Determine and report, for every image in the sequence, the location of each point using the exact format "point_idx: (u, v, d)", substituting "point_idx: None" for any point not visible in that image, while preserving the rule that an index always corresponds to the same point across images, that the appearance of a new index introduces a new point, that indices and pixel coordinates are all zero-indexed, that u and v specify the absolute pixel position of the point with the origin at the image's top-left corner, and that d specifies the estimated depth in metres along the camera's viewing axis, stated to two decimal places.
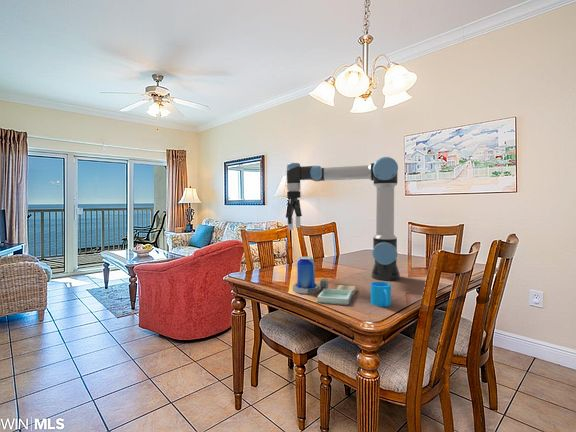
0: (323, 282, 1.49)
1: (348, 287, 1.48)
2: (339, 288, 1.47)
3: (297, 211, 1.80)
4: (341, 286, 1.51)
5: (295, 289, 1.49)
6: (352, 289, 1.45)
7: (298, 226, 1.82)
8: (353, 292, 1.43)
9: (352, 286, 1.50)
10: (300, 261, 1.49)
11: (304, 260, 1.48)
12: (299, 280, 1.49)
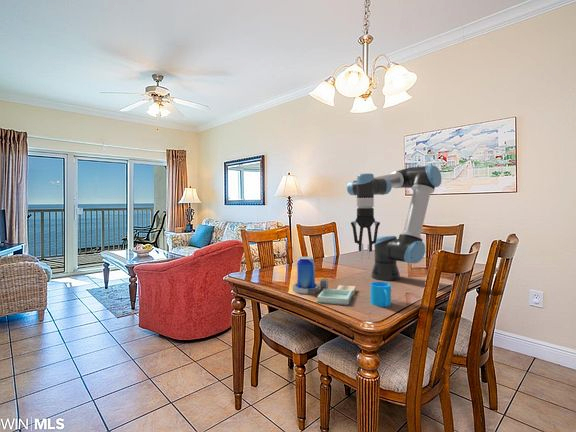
0: (323, 282, 1.49)
1: (348, 287, 1.48)
2: (339, 288, 1.47)
3: (368, 235, 1.43)
4: (341, 286, 1.51)
5: (295, 289, 1.49)
6: (352, 289, 1.45)
7: None
8: (353, 292, 1.43)
9: (352, 286, 1.50)
10: (300, 261, 1.49)
11: (304, 260, 1.48)
12: (299, 280, 1.49)
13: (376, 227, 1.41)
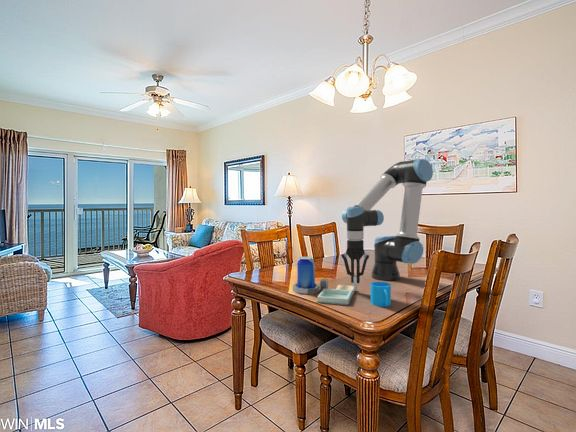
0: (323, 282, 1.49)
1: (347, 287, 1.48)
2: (338, 288, 1.47)
3: None
4: (340, 285, 1.51)
5: (295, 289, 1.49)
6: (351, 289, 1.45)
7: None
8: (352, 292, 1.43)
9: (351, 286, 1.50)
10: (300, 261, 1.49)
11: (304, 260, 1.48)
12: (299, 280, 1.49)
13: (365, 260, 1.43)
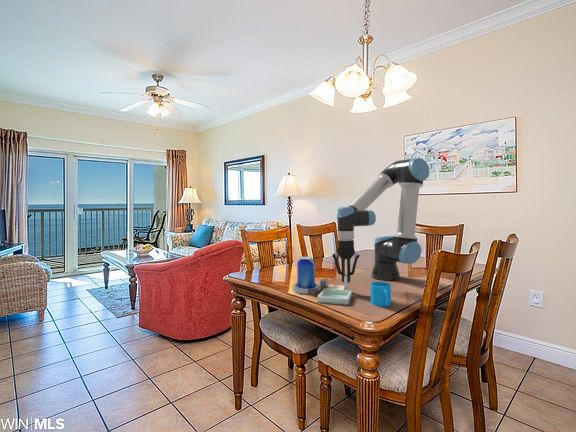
0: (323, 282, 1.49)
1: (338, 287, 1.50)
2: (329, 288, 1.48)
3: (347, 266, 1.47)
4: (331, 285, 1.52)
5: (295, 289, 1.49)
6: (342, 288, 1.46)
7: None
8: None
9: (342, 285, 1.51)
10: (300, 261, 1.49)
11: (304, 260, 1.48)
12: (299, 280, 1.49)
13: (355, 259, 1.45)
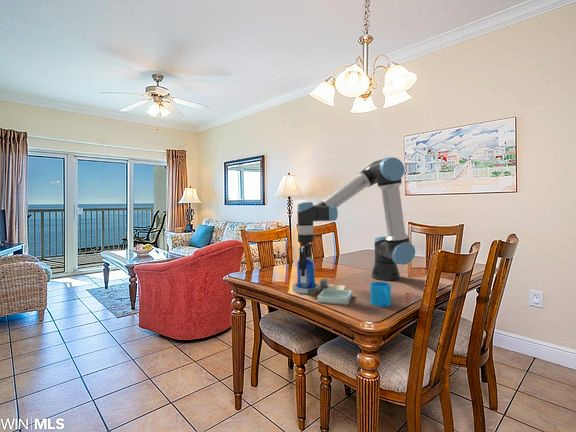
0: (323, 282, 1.49)
1: (338, 286, 1.50)
2: (329, 287, 1.48)
3: None
4: (331, 285, 1.52)
5: (295, 289, 1.49)
6: (342, 288, 1.46)
7: None
8: None
9: (342, 285, 1.51)
10: None
11: None
12: (299, 280, 1.49)
13: (311, 249, 1.56)
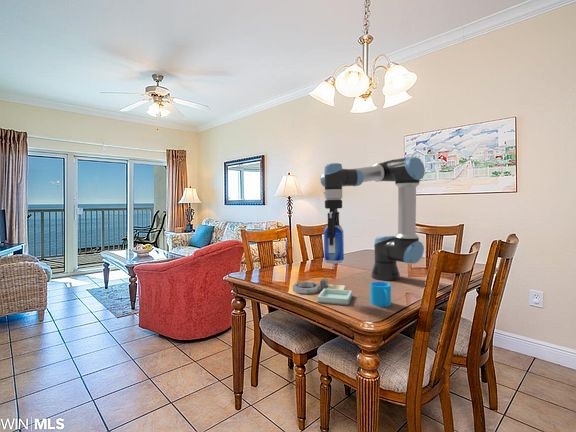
0: (323, 282, 1.49)
1: (338, 286, 1.50)
2: (329, 288, 1.48)
3: None
4: (330, 285, 1.52)
5: (295, 289, 1.49)
6: (342, 288, 1.46)
7: None
8: None
9: (342, 285, 1.52)
10: None
11: None
12: (326, 250, 1.34)
13: None
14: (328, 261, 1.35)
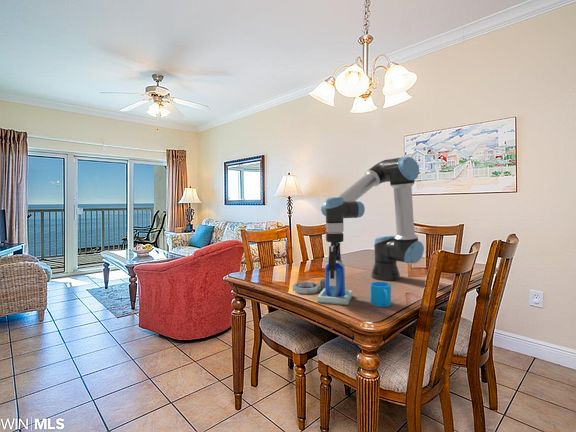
0: (323, 282, 1.49)
1: None
2: None
3: (337, 258, 1.41)
4: None
5: (295, 289, 1.49)
6: None
7: None
8: None
9: None
10: None
11: None
12: (328, 286, 1.35)
13: None
14: None
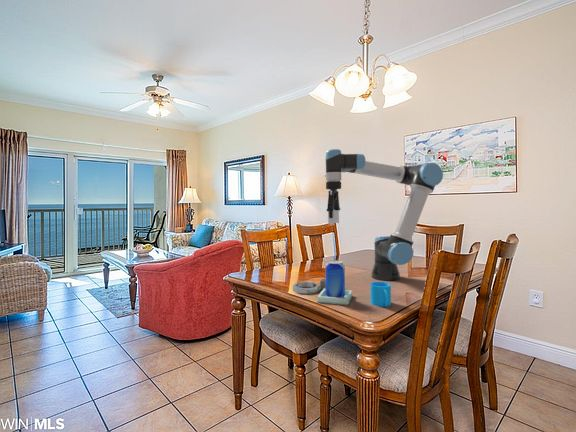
0: (323, 282, 1.49)
1: None
2: None
3: (336, 204, 1.60)
4: None
5: (295, 289, 1.49)
6: None
7: (336, 221, 1.62)
8: None
9: None
10: (329, 266, 1.34)
11: (334, 265, 1.34)
12: (328, 287, 1.35)
13: (338, 196, 1.61)
14: None
